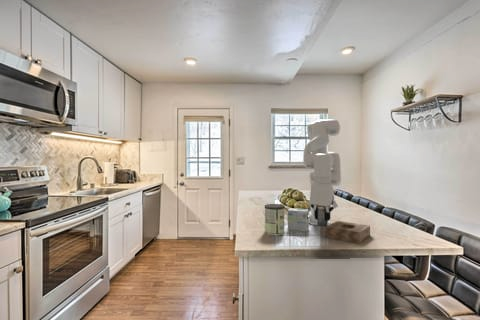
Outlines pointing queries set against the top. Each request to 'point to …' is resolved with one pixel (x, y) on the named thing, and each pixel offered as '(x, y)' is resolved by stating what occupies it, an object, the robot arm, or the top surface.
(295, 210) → the light bulb box
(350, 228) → the socket
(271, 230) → the coffee can
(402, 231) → the top surface
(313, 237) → the top surface
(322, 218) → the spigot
